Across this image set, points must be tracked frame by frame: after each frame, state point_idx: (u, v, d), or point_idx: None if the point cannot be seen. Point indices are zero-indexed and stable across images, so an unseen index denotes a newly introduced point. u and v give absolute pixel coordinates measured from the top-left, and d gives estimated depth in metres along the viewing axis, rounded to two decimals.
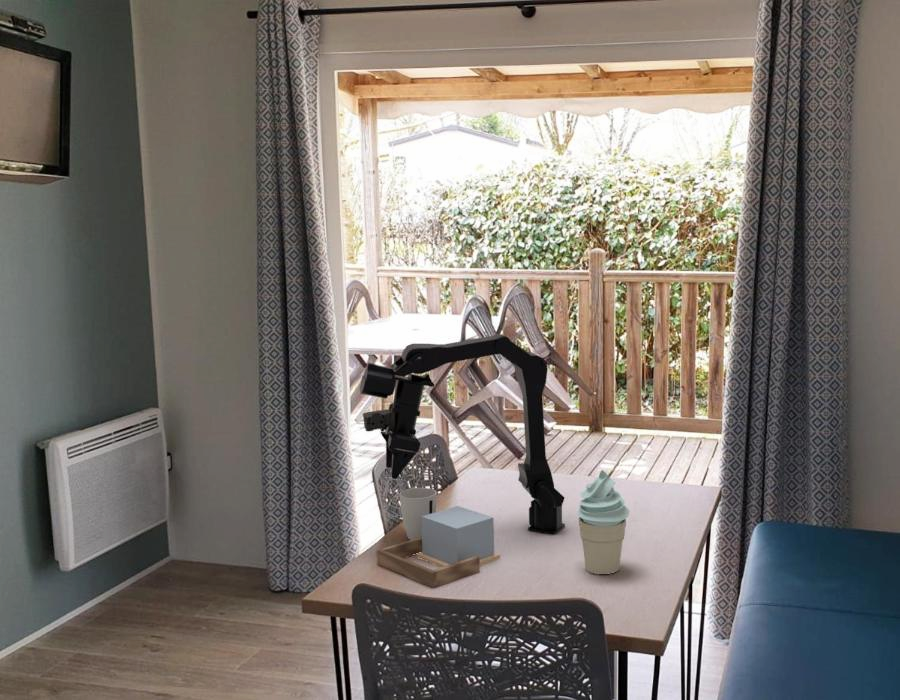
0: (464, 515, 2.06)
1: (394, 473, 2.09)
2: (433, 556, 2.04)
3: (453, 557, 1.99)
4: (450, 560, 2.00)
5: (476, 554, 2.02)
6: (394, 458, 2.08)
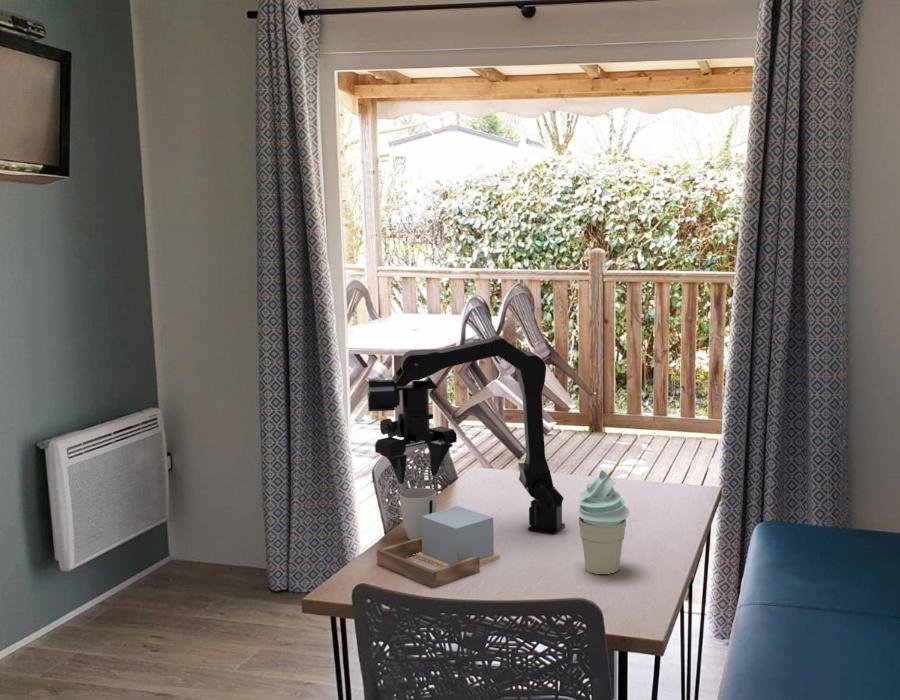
0: (464, 515, 2.06)
1: (398, 478, 2.14)
2: (433, 556, 2.04)
3: (453, 557, 1.99)
4: (450, 559, 2.00)
5: (476, 554, 2.02)
6: (391, 463, 2.14)
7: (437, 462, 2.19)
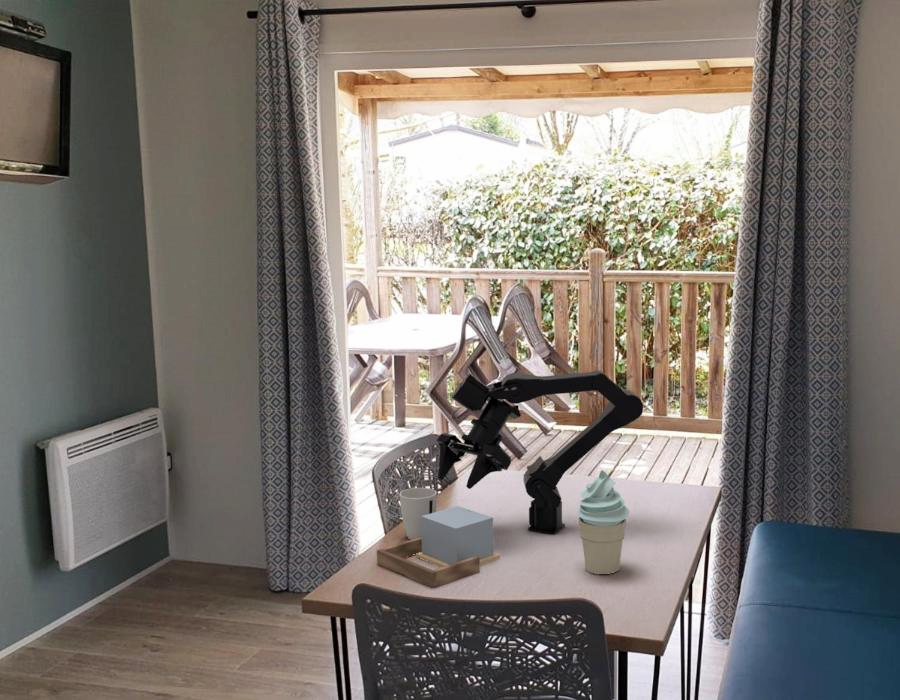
0: (464, 515, 2.06)
1: None
2: (432, 556, 2.04)
3: (453, 557, 1.99)
4: (450, 559, 2.00)
5: (476, 554, 2.02)
6: None
7: None
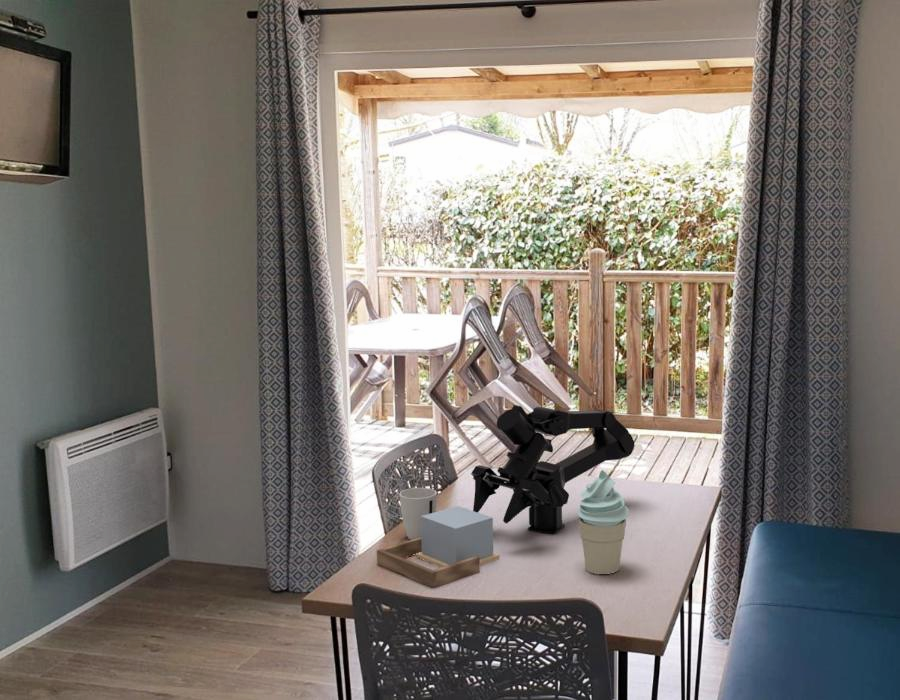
0: (463, 515, 2.06)
1: None
2: (432, 556, 2.04)
3: (452, 557, 1.99)
4: (449, 559, 2.00)
5: (475, 554, 2.02)
6: None
7: None
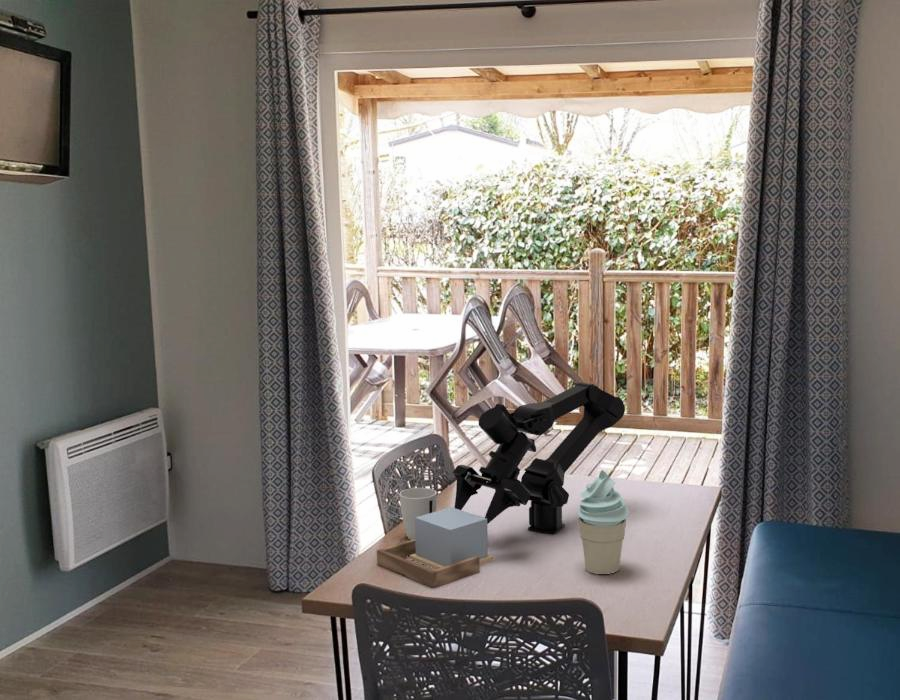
0: (458, 516, 2.05)
1: None
2: (426, 557, 2.03)
3: (447, 559, 1.98)
4: (444, 561, 1.99)
5: (470, 555, 2.01)
6: None
7: None
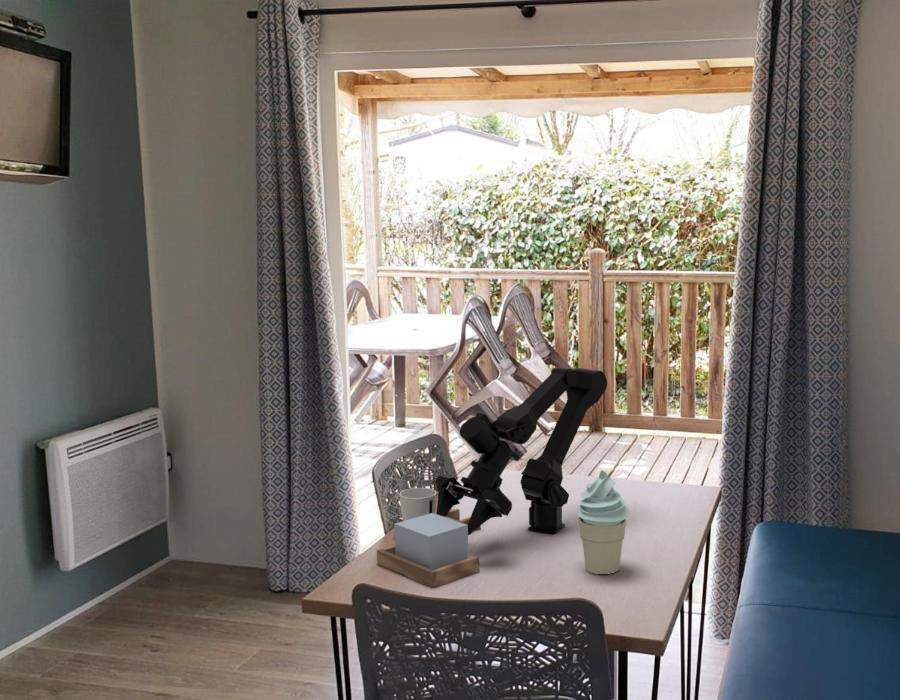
0: (438, 522, 2.01)
1: None
2: None
3: (426, 566, 1.95)
4: None
5: (450, 562, 1.97)
6: None
7: None
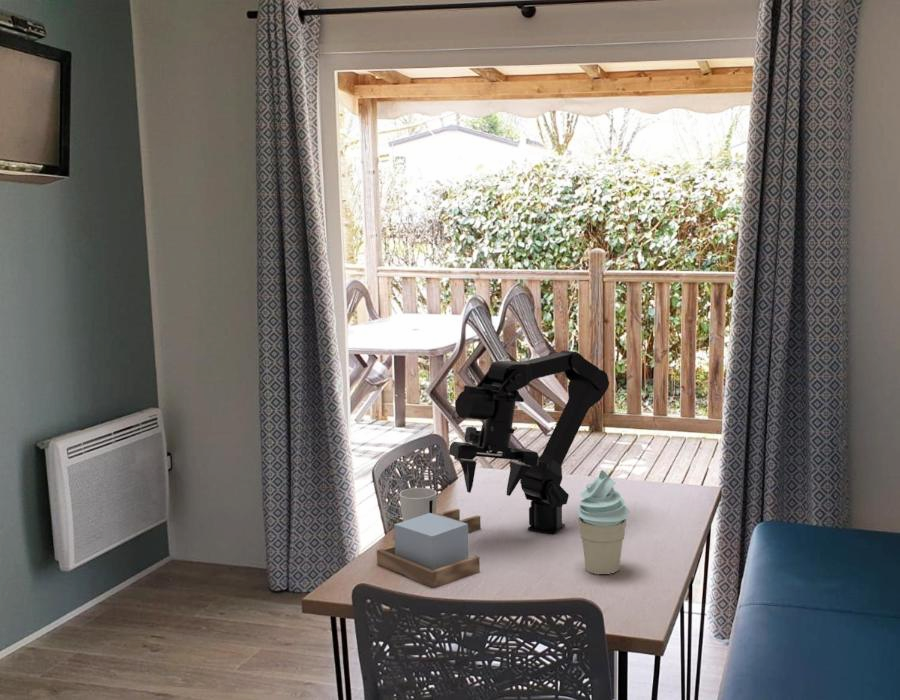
0: (438, 522, 2.01)
1: (466, 486, 2.10)
2: None
3: (429, 566, 1.95)
4: None
5: (452, 561, 1.98)
6: None
7: (513, 482, 2.12)
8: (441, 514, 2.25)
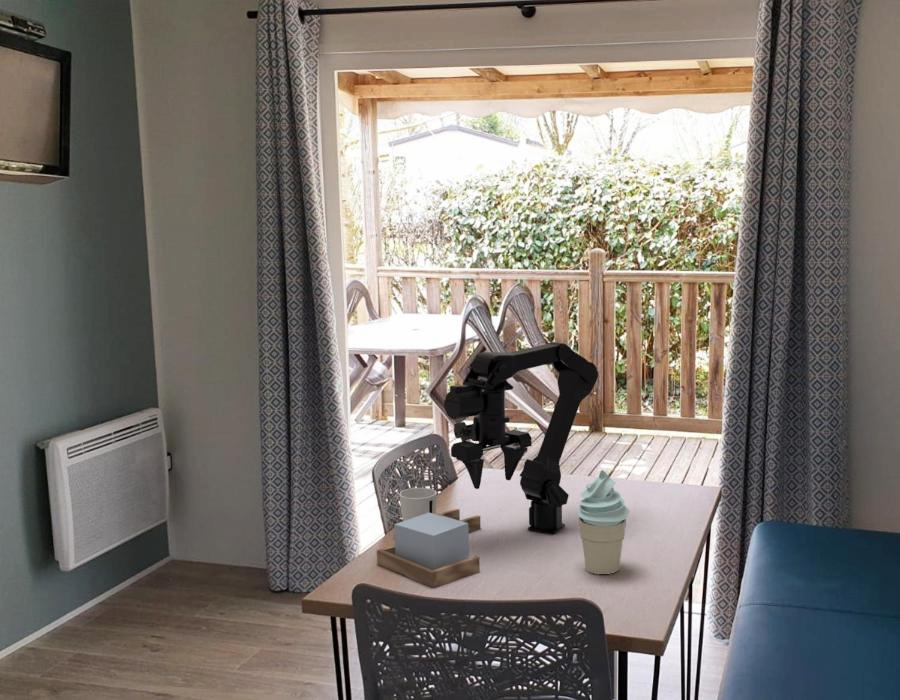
0: (438, 521, 2.02)
1: (474, 483, 2.09)
2: None
3: (430, 565, 1.95)
4: (427, 567, 1.96)
5: (452, 561, 1.98)
6: (467, 467, 2.09)
7: (512, 466, 2.14)
8: (441, 514, 2.25)
